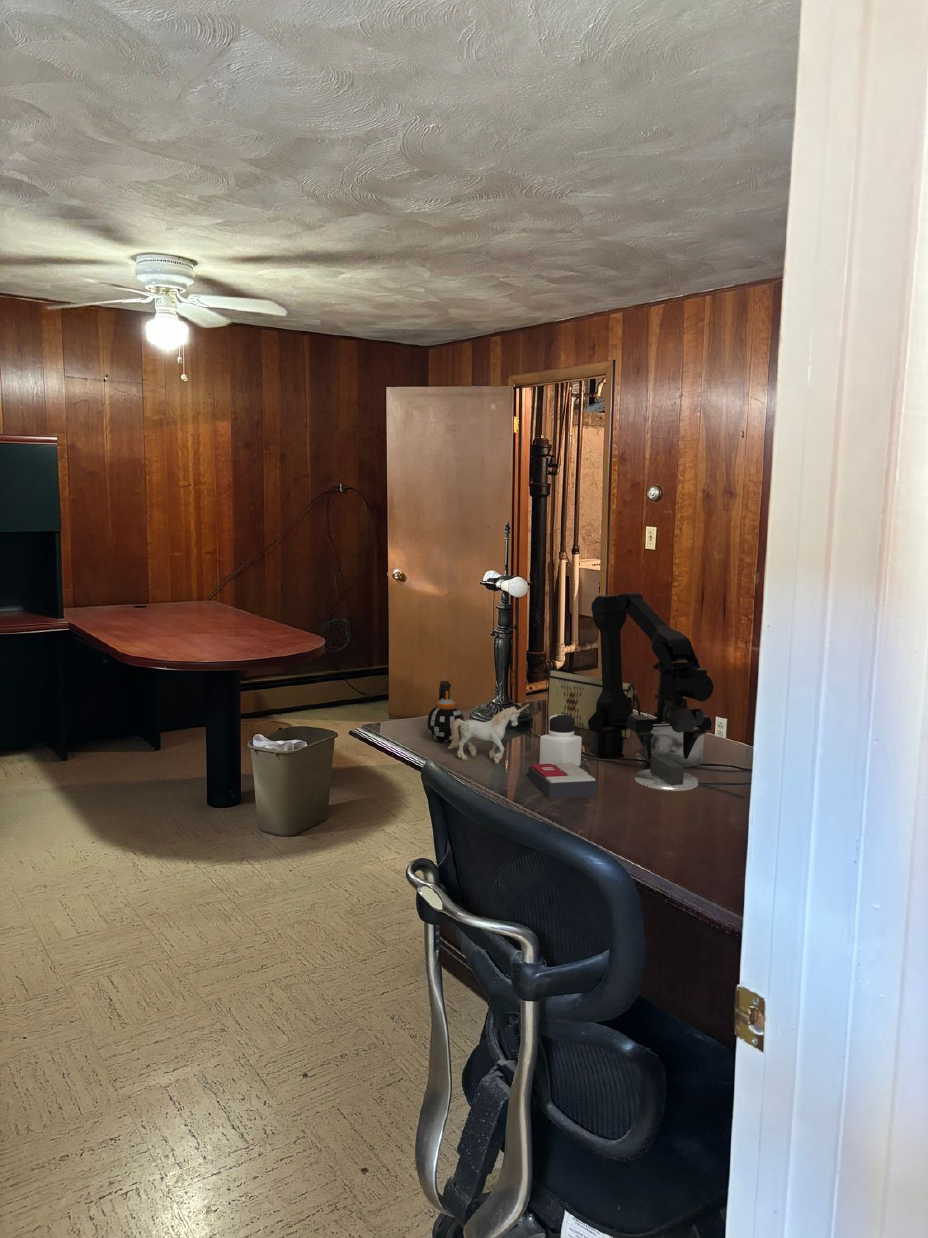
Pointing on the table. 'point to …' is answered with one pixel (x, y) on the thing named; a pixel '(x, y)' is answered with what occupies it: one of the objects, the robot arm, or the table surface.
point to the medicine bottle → (560, 742)
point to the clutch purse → (579, 697)
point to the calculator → (563, 780)
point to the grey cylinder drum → (675, 746)
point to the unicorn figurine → (483, 732)
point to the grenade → (443, 715)
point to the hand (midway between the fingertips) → (667, 759)
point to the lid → (666, 775)
